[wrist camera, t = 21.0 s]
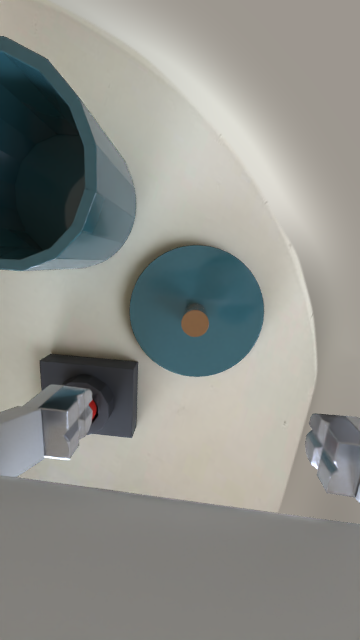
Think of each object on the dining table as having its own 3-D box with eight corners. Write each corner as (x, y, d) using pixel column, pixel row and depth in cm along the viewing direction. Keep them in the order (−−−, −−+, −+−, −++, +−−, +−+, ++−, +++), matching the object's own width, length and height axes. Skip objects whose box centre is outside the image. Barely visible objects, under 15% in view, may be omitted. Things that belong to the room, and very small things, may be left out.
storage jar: (138, 131, 24) (94, 36, 14) (134, 271, 28) (97, 276, 17) (6, 126, 25) (-126, 32, 15) (17, 263, 28) (-85, 263, 18)
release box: (138, 361, 30) (129, 376, 26) (136, 426, 32) (127, 449, 28) (50, 353, 31) (28, 366, 27) (54, 417, 33) (34, 438, 29)
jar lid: (270, 250, 26) (288, 247, 21) (251, 378, 29) (262, 401, 24) (134, 241, 27) (119, 236, 22) (130, 366, 30) (117, 387, 25)
